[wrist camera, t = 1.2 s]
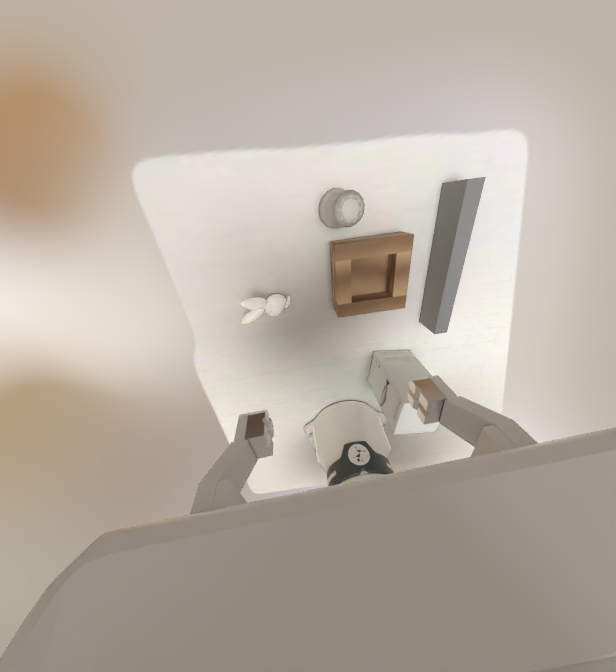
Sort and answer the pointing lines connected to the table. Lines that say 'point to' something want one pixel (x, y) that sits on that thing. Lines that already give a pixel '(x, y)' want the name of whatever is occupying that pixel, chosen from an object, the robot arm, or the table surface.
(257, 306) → the rabbit figurine
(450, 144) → the table surface
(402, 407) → the supplement box
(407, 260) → the socket block
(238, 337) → the table surface
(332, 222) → the rook chess piece
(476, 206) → the backstop board
